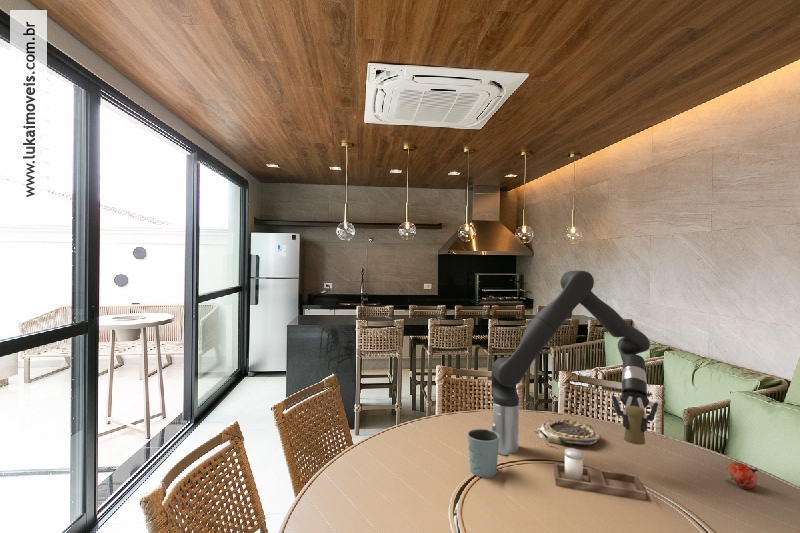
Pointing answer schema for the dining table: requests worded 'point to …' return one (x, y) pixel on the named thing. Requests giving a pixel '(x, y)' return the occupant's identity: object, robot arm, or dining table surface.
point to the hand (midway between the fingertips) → (635, 429)
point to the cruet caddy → (602, 482)
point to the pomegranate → (742, 475)
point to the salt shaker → (573, 464)
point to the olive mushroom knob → (634, 426)
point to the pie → (568, 433)
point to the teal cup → (483, 452)
